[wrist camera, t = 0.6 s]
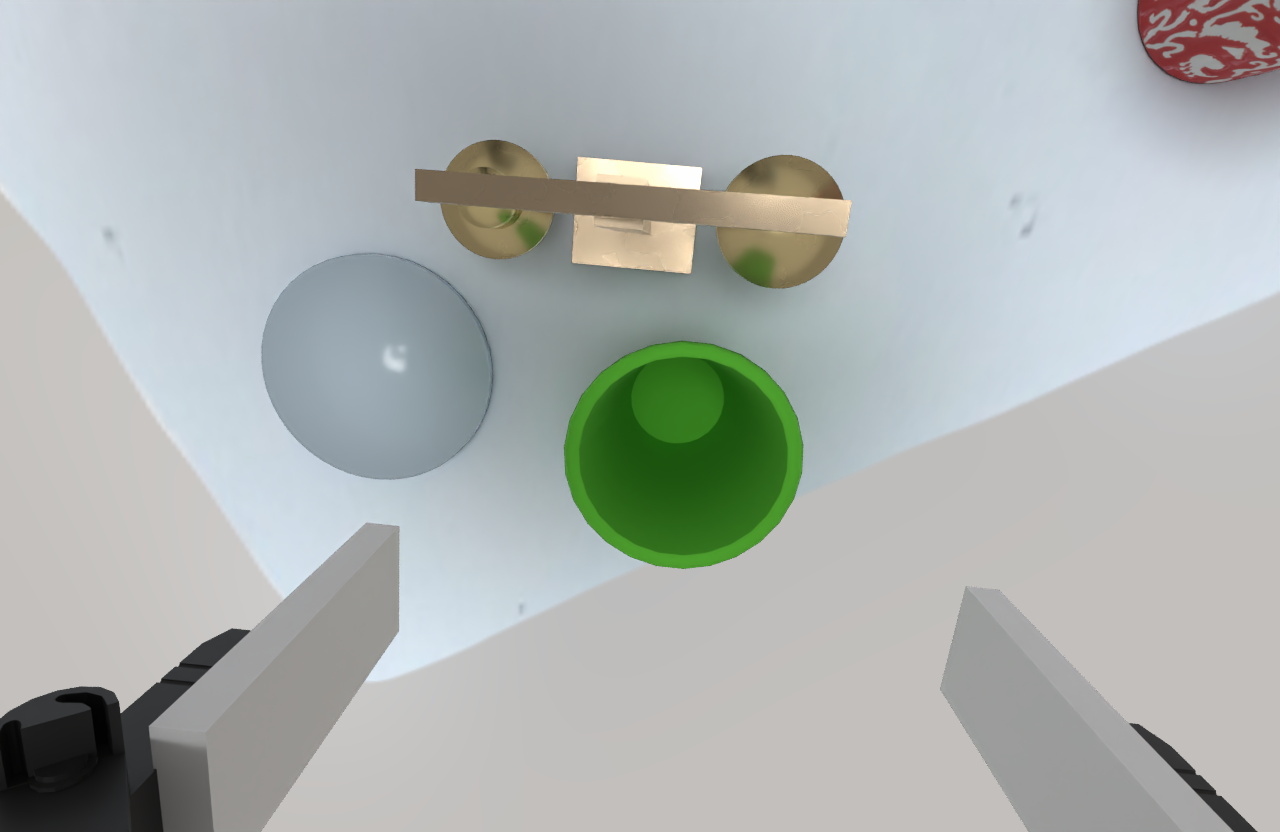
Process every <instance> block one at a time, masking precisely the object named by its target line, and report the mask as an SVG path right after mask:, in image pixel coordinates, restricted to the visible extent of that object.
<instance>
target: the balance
mask: <svg viewBox="0 0 1280 832" xmlns="http://www.w3.org/2000/svg"><path fill="white" fill-rule="evenodd" d="M701 173H702V168H698V167H687V166H676V165H665V164H654V163H643V162H632V161H620V160H609V159H598V158H587V157H578V164H577V181H574V180H560V179H550V178H549V176H548V174H547V172H546V170H545V169H544V167H543V166H542V165H541V163H540V162H539V161H538V160H537V159H536V158H535V157H534V156H533V155H532V154H530V153H529V152H528V151H526V150H525V149H523V148H521V147H520V146H517V145H515V144H513V143H510V142H506V141H501V140H486V141H481V142H478V143H475V144H472V145H470V146H468V147H467V148H465V149H463V150H462V151H461V152H460V153H459V154H457V156H456V157H455V158H454V159H453V160H452V161H451V163H450V164H449V166H448V168H447V170H446V171H436V170H422V169H415V201H422V202H430V203H441V208H442V213H443V216H444V219H445V221H446V224H447V226H448V228H449V229H450V231H451V233H452V234H453V235H454V237H455V238H456V239H457V240H458V241H459V242H460V243H461V244H462V245H463V246H464V247H466V248H467V249H469V250H470V251H472V252H473V253H476V254H478V255H480V256H483V257H486V258H492V259H508V258H514V257H518V256H521V255H523V254H525V253H527V252H529V251H530V250H532V249H533V248H534V247H536V246H537V245H538V244H539V243H540V242H541V241H542V239H543V238H544V237H545V235H546V234H547V232H548V230H549V228H550V226H551V223H552V220H553V216H554V213H560V214H572V215H574V231H573V248H572V263H579V264H590V265H601V266H612V267H623V268H634V269H644V270H655V271H666V272H677V273H688V274H691V268H692V259H693V249H694V240H695V230H696V225H703V226H715V227H716V234H717V239H718V244H719V247H720V250H721V252H722V254H723V256H724V258H725V260H726V261H727V263H728V264H729V265H730V266H731V268H732V269H733V270H734V271H735V272H736V273H738V274H739V275H740V276H741V277H743V278H744V279H746V280H747V281H750V282H752V283H754V284H756V285H759V286H763V287H768V288H789V287H793V286H797V285H800V284H802V283H805V282H807V281H809V280H811V279H812V278H814V277H815V276H817V275H818V274H819V273H821V272H822V271H823V270H824V269H825V268H826V267H827V266H828V265H829V263H830V262H831V261H832V260H833V258H834V257H835V255H836V253H837V251H838V250H839V248H840V245H841V243H842V240H843V237H846V233H847V227H848V221H849V215H850V209H851V203H852V201H849V200H843V197H842V194H841V192H840V189H839V187H838V185H837V184H836V182H835V181H834V179H833V178H832V177H831V176H830V175H829V173H828V172H827V171H825V170H824V169H823V168H822V167H821V166H819V165H818V164H816V163H814V162H812V161H810V160H808V159H805V158H802V157H799V156H792V155H778V156H772V157H768V158H764V159H762V160H759V161H757V162H755V163H753V164H752V165H750V166H748V167H747V168H746V169H744V170H743V171H742V172H741V173H740V174H739V175H738V176H737V177H736V178H734V180H733V181H732V182H731V183H730V185H729V186H728V188H727V189H726V191H712V190H700V183H701Z"/></svg>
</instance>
